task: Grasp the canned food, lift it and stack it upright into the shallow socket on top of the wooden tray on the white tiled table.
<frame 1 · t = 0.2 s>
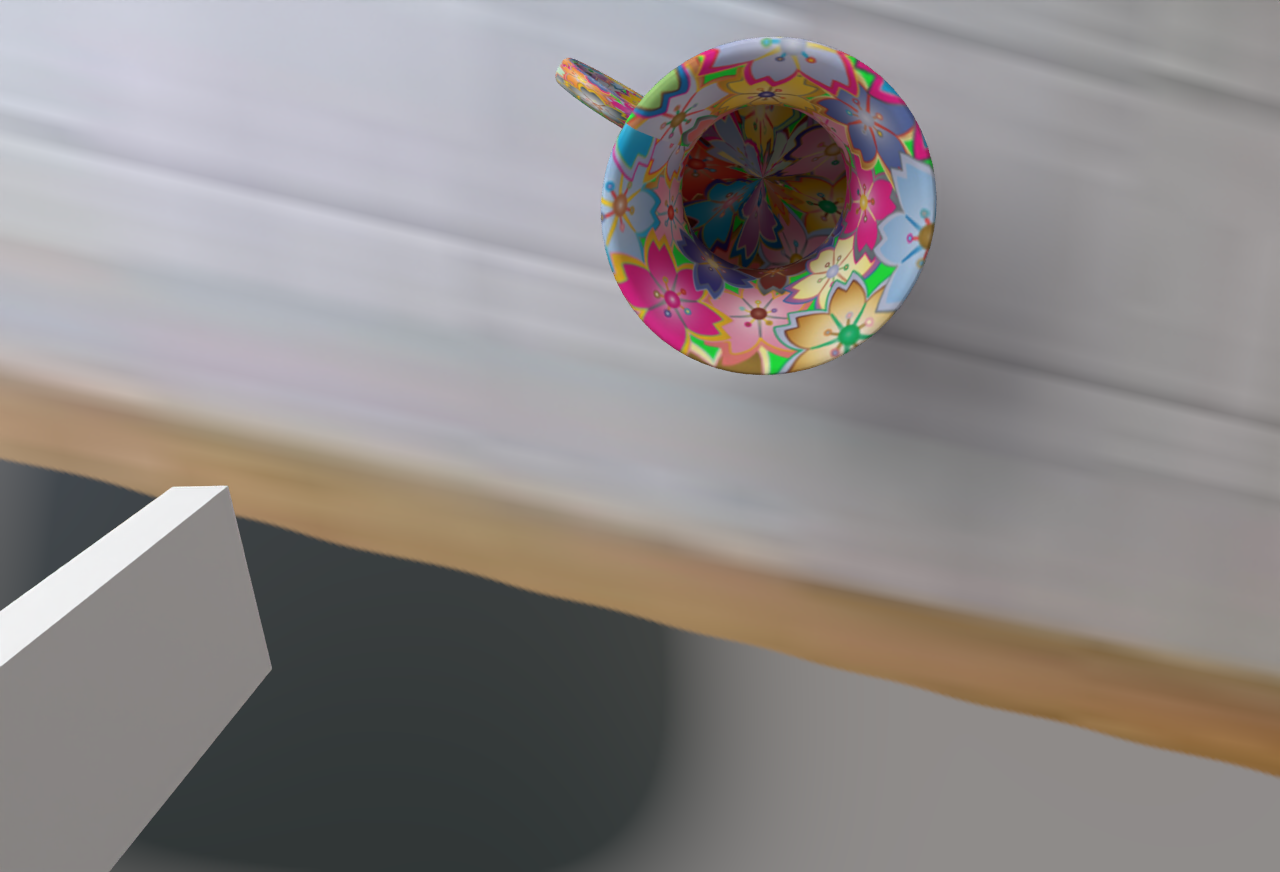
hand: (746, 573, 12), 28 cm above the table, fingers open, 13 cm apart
mug: (733, 156, 37), on the table
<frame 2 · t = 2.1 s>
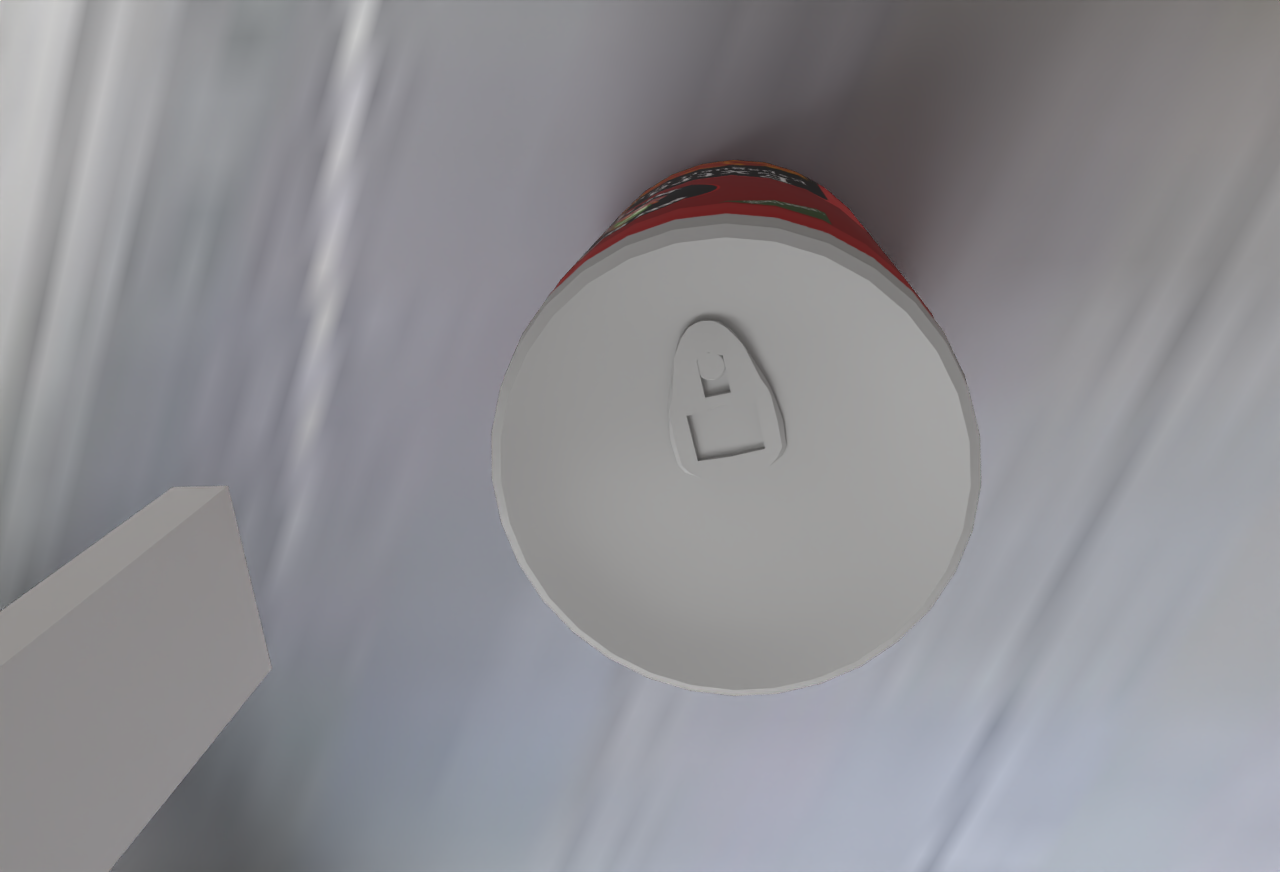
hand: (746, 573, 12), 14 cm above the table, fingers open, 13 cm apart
canned food: (736, 314, 25), on the table
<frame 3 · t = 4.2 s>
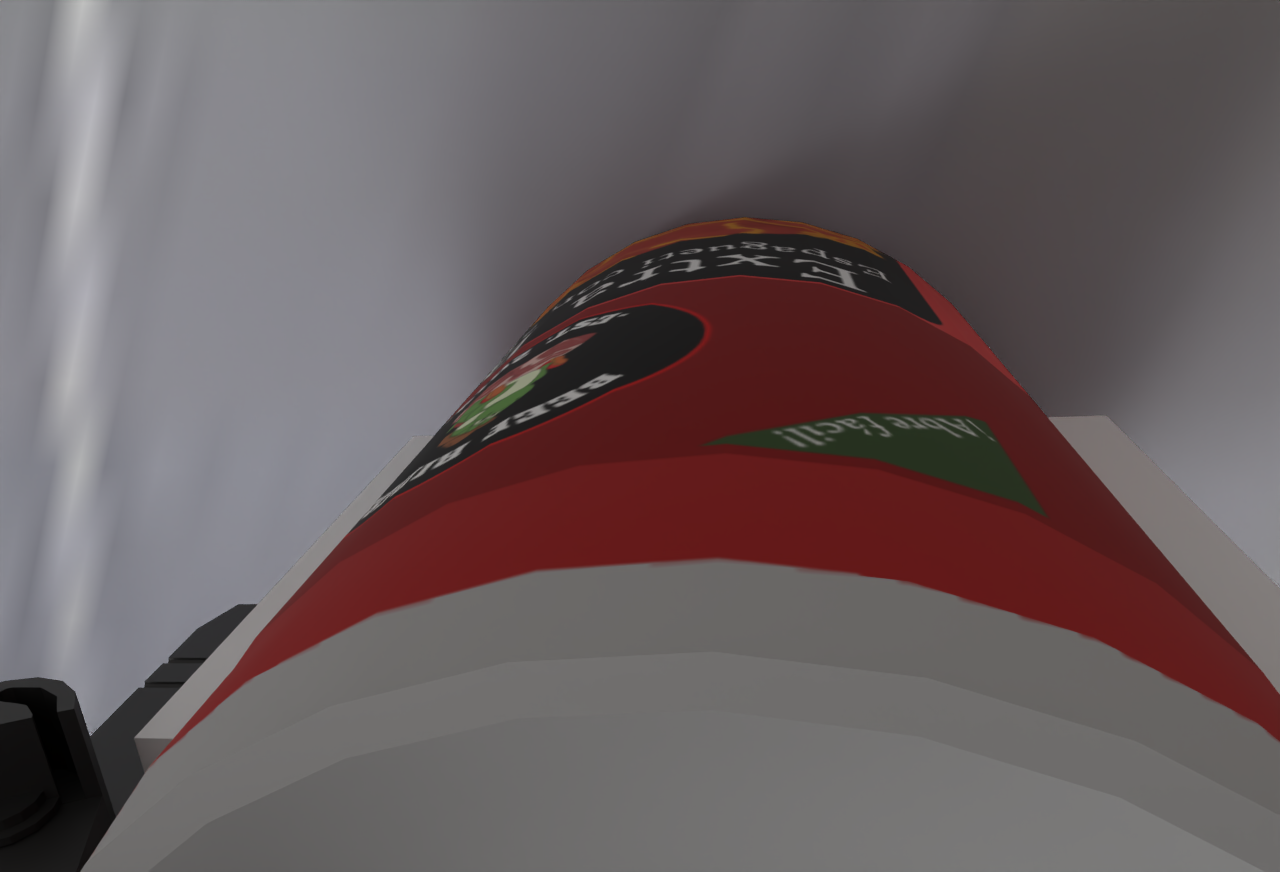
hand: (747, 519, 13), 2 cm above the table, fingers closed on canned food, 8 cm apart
canned food: (748, 466, 15), on the table, touching gripper
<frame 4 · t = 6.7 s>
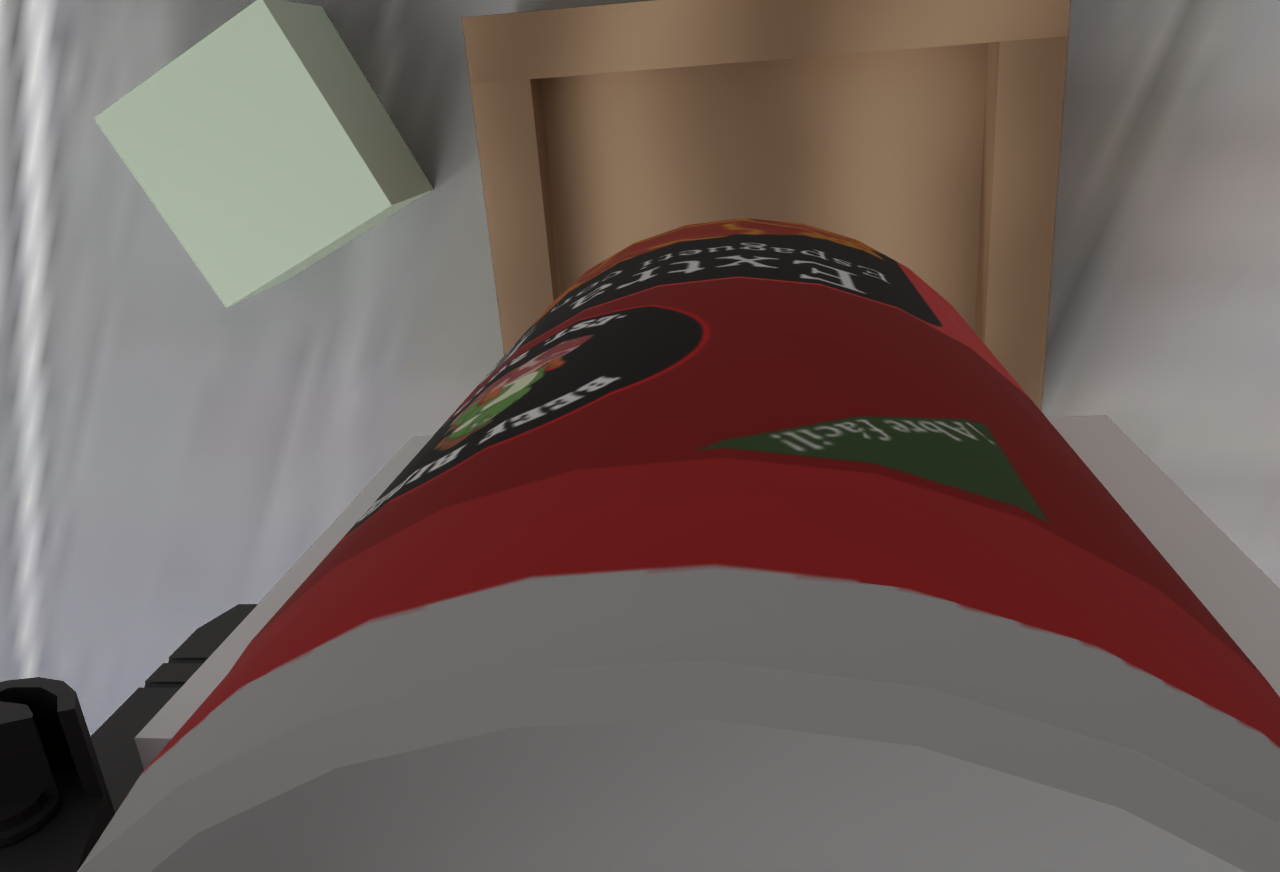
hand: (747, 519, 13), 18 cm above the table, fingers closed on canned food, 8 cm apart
wooden tray: (762, 255, 30), on the table
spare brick: (304, 150, 30), on the table
canned food: (747, 467, 15), point 16 cm above the table, touching gripper
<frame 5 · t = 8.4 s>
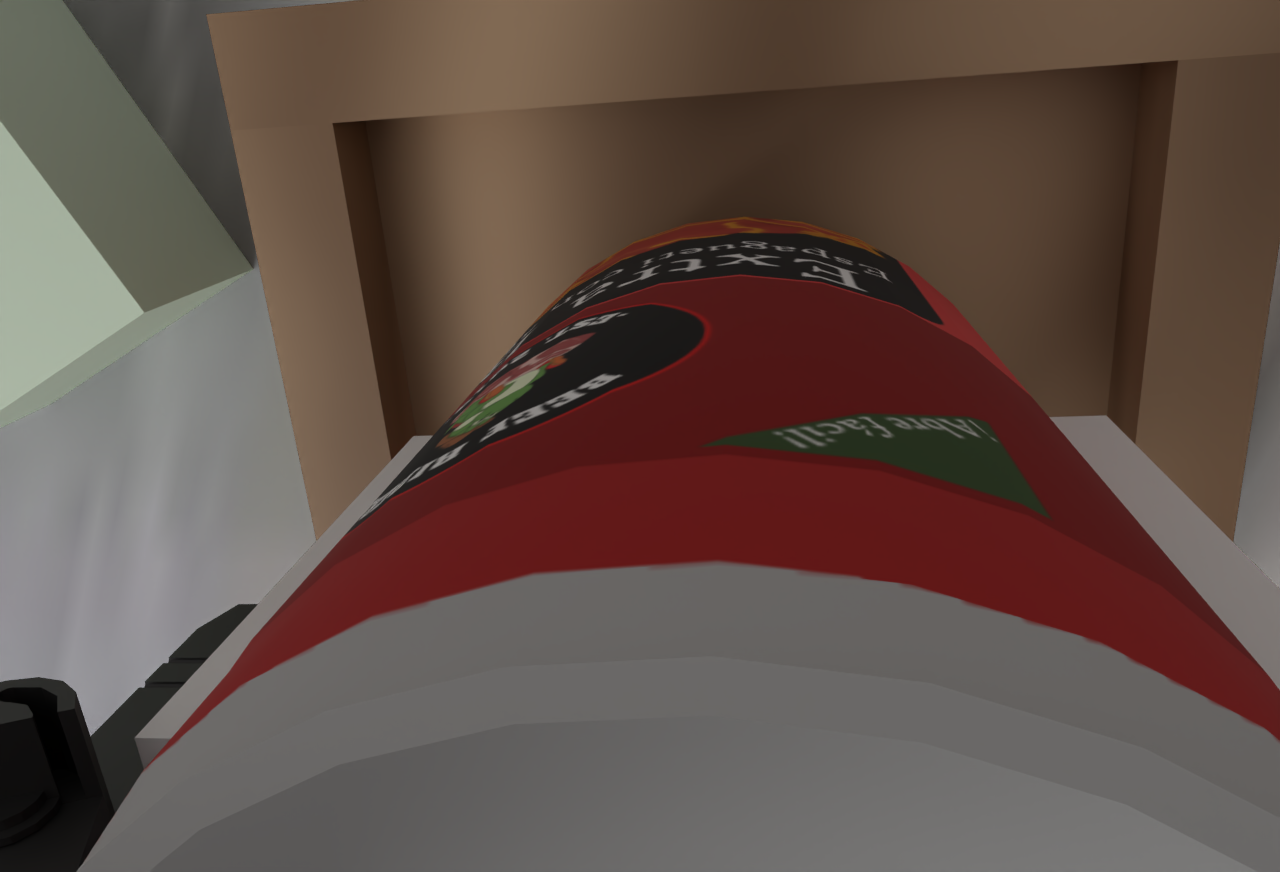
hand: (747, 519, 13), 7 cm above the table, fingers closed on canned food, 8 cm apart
wooden tray: (748, 377, 19), on the table
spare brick: (60, 213, 20), on the table
canned food: (748, 466, 15), point 5 cm above the table, touching gripper
when the fingers open (6 cm above the table, at t = 9.7 s): canned food stays where it is, resting on wooden tray.
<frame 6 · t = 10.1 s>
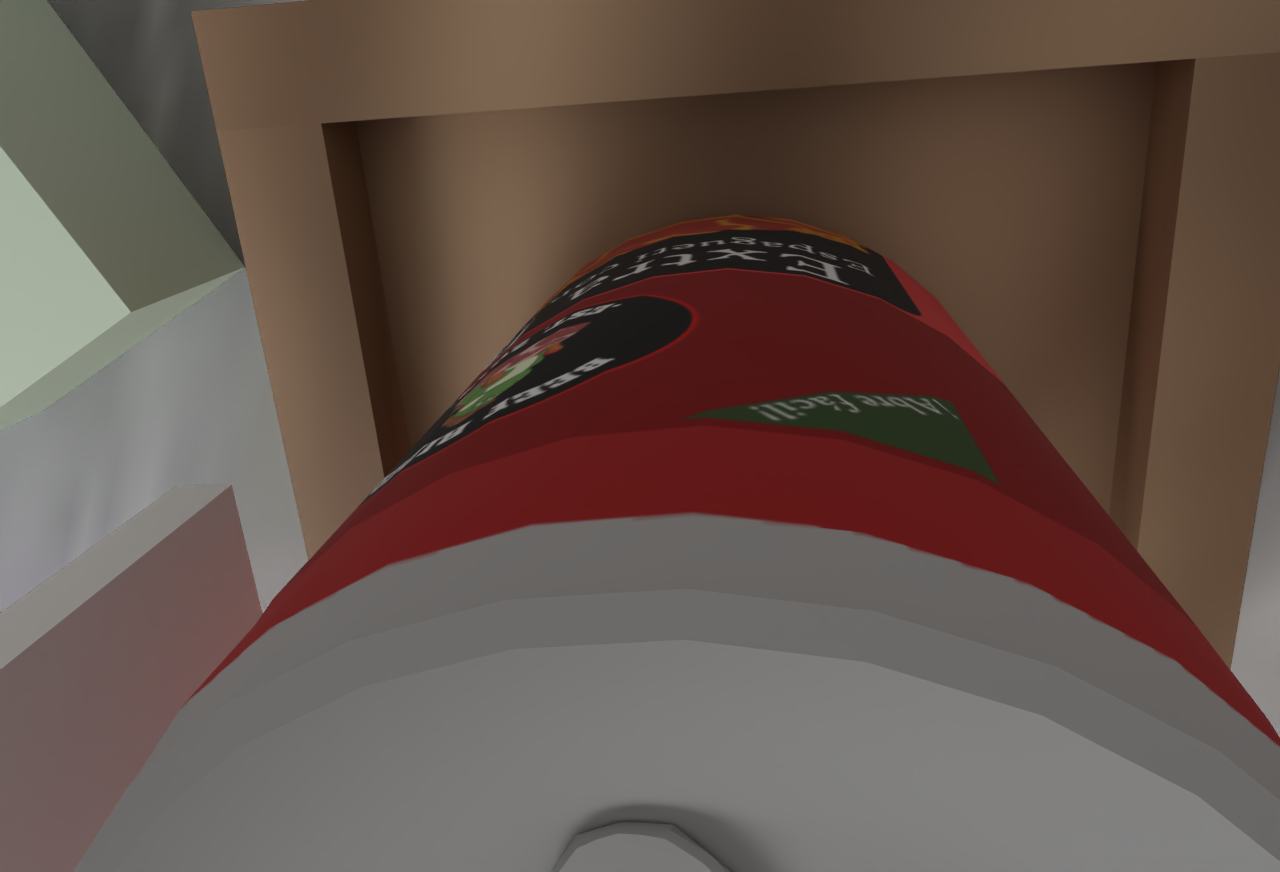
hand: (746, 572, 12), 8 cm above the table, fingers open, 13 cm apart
wooden tray: (749, 382, 19), on the table
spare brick: (48, 215, 20), on the table
canned food: (741, 456, 16), point 4 cm above the table, touching wooden tray
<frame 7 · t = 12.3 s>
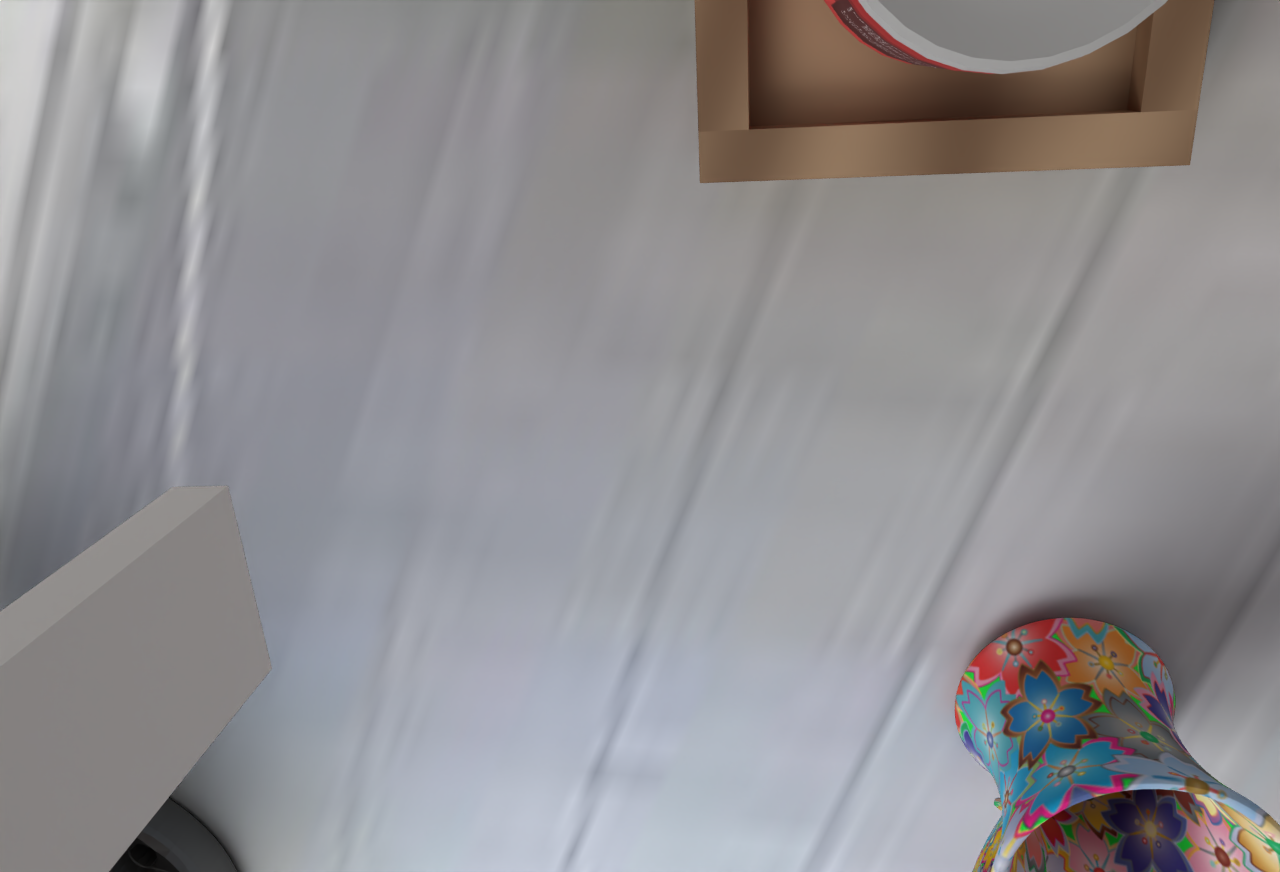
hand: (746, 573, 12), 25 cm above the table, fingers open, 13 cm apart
mug: (1031, 711, 41), on the table
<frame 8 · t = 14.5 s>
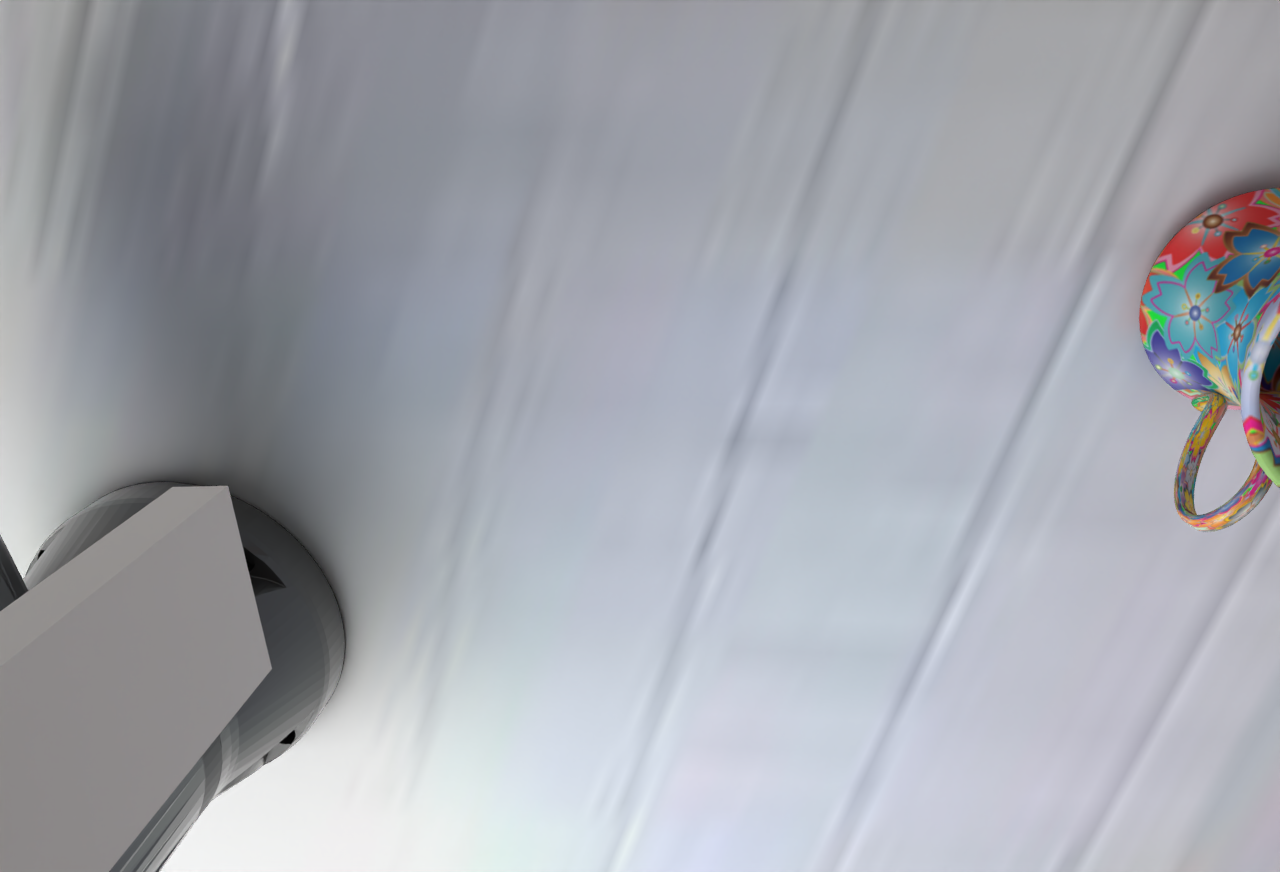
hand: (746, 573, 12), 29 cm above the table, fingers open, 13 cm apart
mug: (1217, 323, 38), on the table
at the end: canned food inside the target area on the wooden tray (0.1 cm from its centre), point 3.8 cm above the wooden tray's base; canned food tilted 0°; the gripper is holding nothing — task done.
